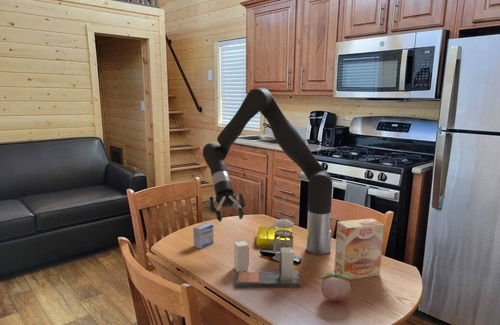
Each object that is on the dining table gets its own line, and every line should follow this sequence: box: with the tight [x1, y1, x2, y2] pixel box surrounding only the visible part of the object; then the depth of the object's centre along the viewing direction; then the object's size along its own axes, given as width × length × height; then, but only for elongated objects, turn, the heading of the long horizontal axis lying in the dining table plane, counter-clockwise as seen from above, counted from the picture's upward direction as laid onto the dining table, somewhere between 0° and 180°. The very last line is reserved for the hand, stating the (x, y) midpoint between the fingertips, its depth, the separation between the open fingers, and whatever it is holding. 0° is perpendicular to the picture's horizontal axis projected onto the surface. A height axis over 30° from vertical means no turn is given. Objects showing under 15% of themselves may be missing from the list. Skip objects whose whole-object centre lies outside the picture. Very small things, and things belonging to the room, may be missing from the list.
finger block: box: [233, 240, 250, 272], centre depth 129 cm, size 4×4×10 cm
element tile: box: [256, 225, 293, 249], centre depth 156 cm, size 15×15×5 cm
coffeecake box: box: [333, 217, 385, 280], centre depth 126 cm, size 15×7×20 cm, turn 105°
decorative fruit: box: [319, 271, 352, 302], centre depth 109 cm, size 9×8×10 cm
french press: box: [267, 195, 296, 262], centre depth 139 cm, size 10×12×25 cm
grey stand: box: [234, 248, 302, 289], centre depth 120 cm, size 22×8×12 cm, turn 92°
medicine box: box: [193, 222, 215, 250], centre depth 150 cm, size 8×4×9 cm, turn 143°
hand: (231, 219), depth 138 cm, fingers open, 8 cm apart
